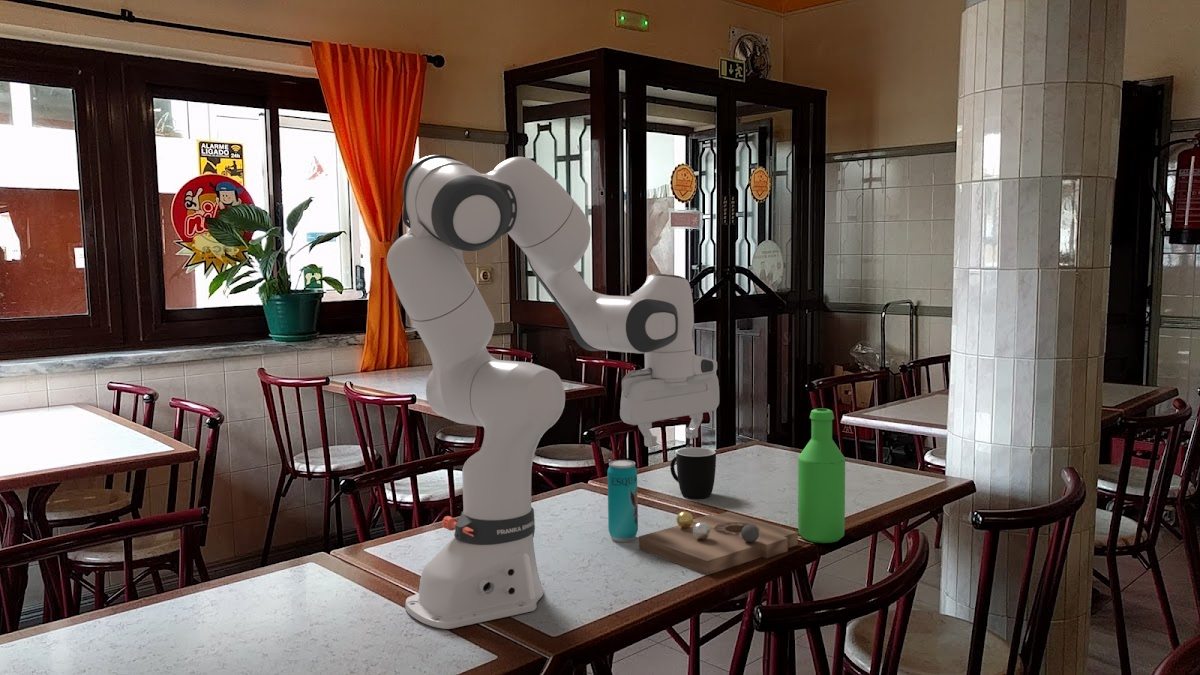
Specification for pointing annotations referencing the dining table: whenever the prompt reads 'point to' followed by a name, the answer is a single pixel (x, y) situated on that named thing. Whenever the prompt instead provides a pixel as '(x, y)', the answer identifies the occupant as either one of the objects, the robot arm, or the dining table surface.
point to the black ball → (750, 533)
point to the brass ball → (684, 519)
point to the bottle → (821, 483)
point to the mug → (695, 471)
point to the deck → (718, 543)
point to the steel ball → (701, 530)
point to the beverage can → (622, 500)
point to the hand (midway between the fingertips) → (671, 441)
